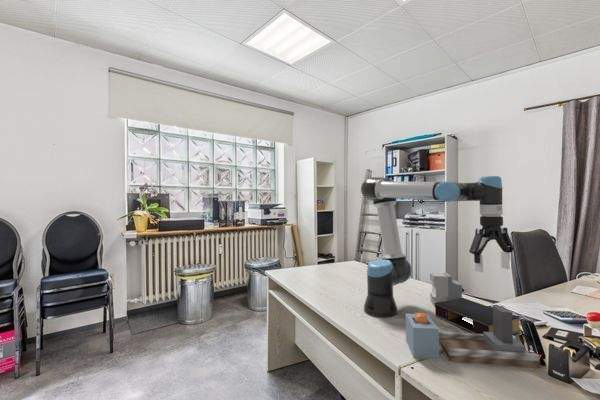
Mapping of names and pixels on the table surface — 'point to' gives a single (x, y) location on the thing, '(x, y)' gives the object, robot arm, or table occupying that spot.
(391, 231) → the robot arm
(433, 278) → the circuit breaker
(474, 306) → the book
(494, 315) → the carriage
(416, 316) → the button
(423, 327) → the end cabinet
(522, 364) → the rail board
